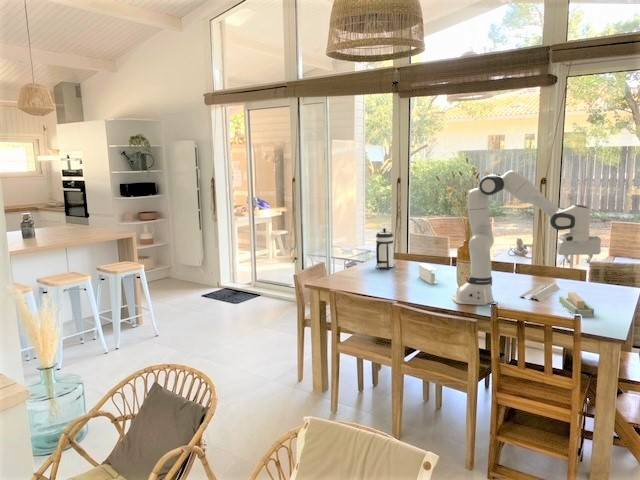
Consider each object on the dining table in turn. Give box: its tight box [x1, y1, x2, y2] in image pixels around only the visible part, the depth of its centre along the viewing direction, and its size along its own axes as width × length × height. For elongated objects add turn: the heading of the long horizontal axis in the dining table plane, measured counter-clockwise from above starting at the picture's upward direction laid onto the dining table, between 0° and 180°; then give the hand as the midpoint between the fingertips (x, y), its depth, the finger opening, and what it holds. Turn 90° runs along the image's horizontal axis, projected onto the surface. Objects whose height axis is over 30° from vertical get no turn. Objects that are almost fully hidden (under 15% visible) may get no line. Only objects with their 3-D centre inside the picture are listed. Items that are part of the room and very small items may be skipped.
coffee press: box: [375, 228, 396, 271], centre depth 361 cm, size 17×16×30 cm
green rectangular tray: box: [558, 295, 595, 318], centre depth 254 cm, size 9×22×4 cm, turn 173°
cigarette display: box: [418, 263, 438, 285], centre depth 324 cm, size 20×6×9 cm, turn 10°
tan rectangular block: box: [567, 292, 586, 310], centre depth 253 cm, size 4×16×6 cm, turn 168°
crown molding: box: [519, 282, 561, 301], centre depth 285 cm, size 31×12×4 cm, turn 135°
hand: (578, 263), depth 250 cm, fingers open, 8 cm apart
